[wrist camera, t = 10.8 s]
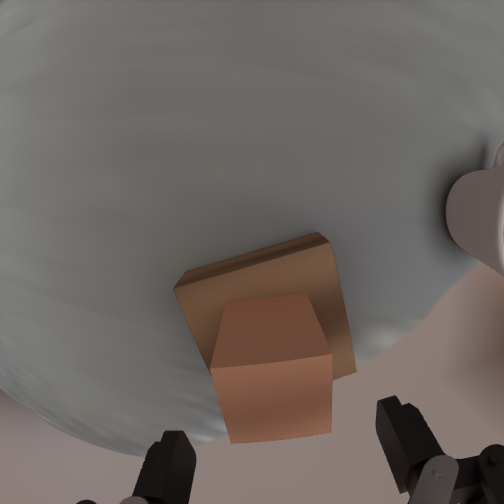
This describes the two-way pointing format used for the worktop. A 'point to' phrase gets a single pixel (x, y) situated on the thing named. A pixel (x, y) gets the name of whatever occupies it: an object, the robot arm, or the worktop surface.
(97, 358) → the worktop surface
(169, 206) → the worktop surface
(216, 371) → the terracotta block
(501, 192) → the cup
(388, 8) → the worktop surface
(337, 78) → the worktop surface
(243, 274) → the walnut block
